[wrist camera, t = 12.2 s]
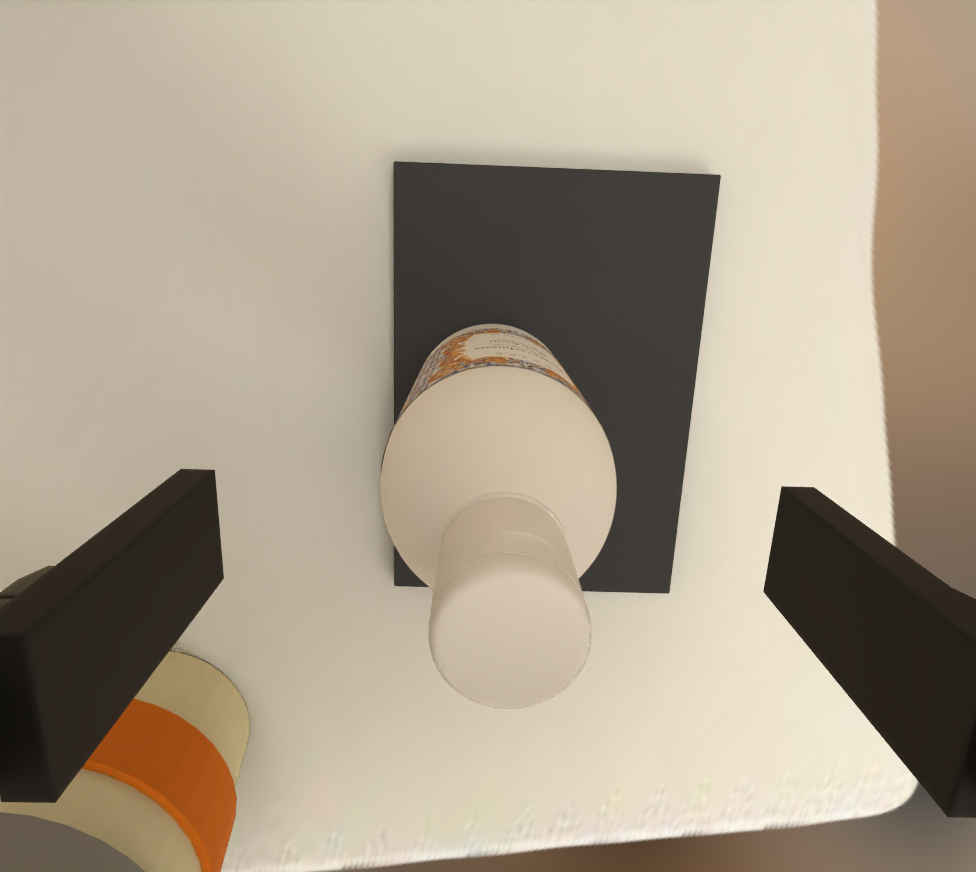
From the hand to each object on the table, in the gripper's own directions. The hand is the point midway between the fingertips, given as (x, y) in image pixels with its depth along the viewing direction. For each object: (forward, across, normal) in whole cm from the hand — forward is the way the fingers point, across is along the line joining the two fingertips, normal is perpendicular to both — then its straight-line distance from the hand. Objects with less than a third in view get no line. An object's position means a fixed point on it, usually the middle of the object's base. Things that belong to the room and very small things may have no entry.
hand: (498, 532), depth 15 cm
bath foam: (+16, 0, 0) cm, 16 cm away
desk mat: (+17, +3, 0) cm, 17 cm away
